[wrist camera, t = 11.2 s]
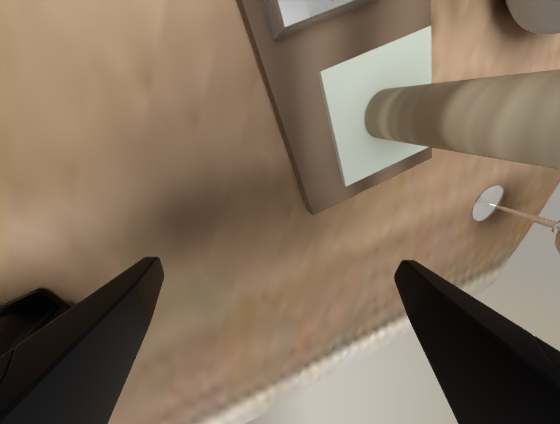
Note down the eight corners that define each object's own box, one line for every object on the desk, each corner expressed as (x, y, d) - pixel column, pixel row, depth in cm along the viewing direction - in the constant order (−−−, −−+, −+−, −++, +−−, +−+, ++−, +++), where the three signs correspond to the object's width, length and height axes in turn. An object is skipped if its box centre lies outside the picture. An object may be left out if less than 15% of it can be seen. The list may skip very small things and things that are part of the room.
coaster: (343, 185, 19) (346, 186, 19) (317, 72, 15) (320, 71, 15) (427, 144, 20) (431, 145, 20) (425, 27, 16) (430, 25, 16)
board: (307, 210, 21) (312, 215, 20) (181, -163, 10) (177, -194, 9) (421, 155, 22) (431, 157, 21) (409, -229, 12) (428, -262, 11)
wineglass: (517, 176, 28) (704, 215, 17) (495, 224, 31) (644, 282, 20) (479, 179, 26) (661, 224, 16) (459, 229, 29) (602, 296, 18)
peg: (353, 147, 18) (702, 238, 5) (363, 78, 16) (973, -39, 3) (401, 144, 19) (774, 212, 7) (416, 79, 17) (1003, 0, 4)
